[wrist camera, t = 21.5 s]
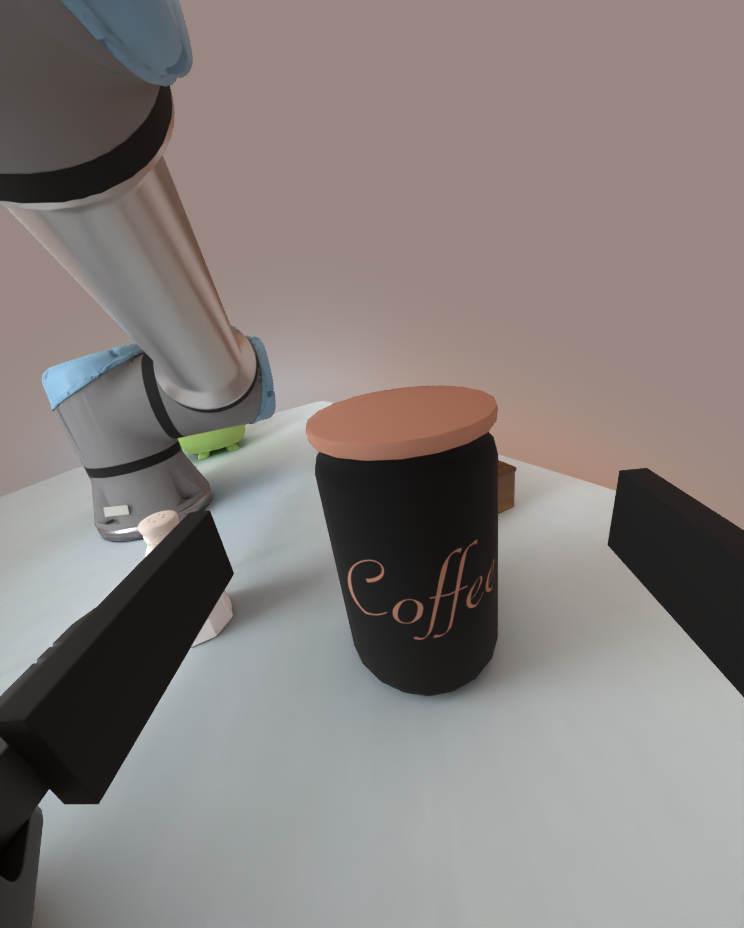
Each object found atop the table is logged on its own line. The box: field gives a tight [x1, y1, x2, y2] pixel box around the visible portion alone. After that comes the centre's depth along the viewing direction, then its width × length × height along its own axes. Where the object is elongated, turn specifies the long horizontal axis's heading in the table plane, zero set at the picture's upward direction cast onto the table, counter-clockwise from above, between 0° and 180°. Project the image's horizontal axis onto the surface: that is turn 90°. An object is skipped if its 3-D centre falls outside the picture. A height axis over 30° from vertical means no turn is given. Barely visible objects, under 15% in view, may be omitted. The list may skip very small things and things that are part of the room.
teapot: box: [178, 424, 246, 460], centre depth 76 cm, size 20×13×13 cm
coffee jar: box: [306, 386, 498, 696], centre depth 24 cm, size 11×11×18 cm
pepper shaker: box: [138, 510, 233, 647], centre depth 29 cm, size 5×5×11 cm
